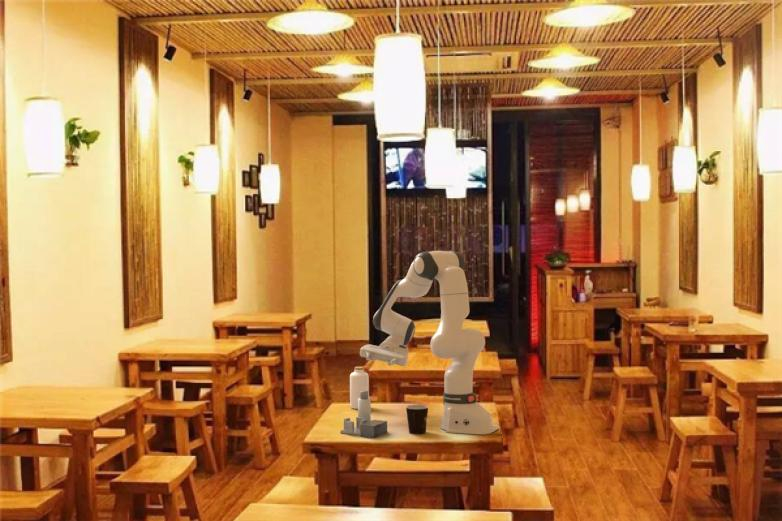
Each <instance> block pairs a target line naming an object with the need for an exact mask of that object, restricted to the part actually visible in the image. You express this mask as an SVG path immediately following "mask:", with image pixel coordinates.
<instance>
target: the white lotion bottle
mask: <svg viewBox="0 0 782 521" xmlns="http://www.w3.org/2000/svg"><path fill="white" fill-rule="evenodd" d="M371 408H372V405H371V398H370V397H369V398H368V391H360V398H358V409H357V410H358V412H357V417H362V418H364V420H366V422H369V421H372V415H371V414H372V413H371V412H372V410H371Z"/></svg>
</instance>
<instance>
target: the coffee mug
mask: <svg viewBox="0 0 782 521" xmlns="http://www.w3.org/2000/svg"><path fill="white" fill-rule="evenodd" d="M405 408H406V410H405V411H406V417H407V418H406V419H407V425H408V433H409V434H410V435H425V434H426V433H427V425H428V412H429V406H428V405H425V404H409V405H406V406H405Z"/></svg>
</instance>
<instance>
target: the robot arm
mask: <svg viewBox="0 0 782 521" xmlns="http://www.w3.org/2000/svg"><path fill="white" fill-rule="evenodd" d="M465 265H466V264H465V259H464V255H462V254H461V253H460V252H459V251H454V250H449V251H445V250H431V251H423V252H419V253H418V254H417V255H416V256H414V259H413V261H412V262H411V264H410V266H409V269H408V271H407V273H406V276H405V277H404V278H403V279H398V280H397V281H396V282H395V283H394V284H393V286H392V287H391V289H390V291H389V292H388V294H387V295H386V296H385V299H384V300H383V302H382V303H381V305H380V307H379V309H378V310H377V311H376V312H375V313H374V315H373V318H372V323H373V324H372V325H373V326H374V328H375V329H376V330H379V331H381V332H384V333H385V334H388V335H389V336H387V338H385V339H384V340H383V342H381V343H380V344H379V345H373V344H365V345H363V346H361V347H360V349H359V356H360V357H362V358H365V361H371V360H376V361H379V362H383V363H387V366H391V367H392V365H397V366H401V367H405V366H406V365H407V364H408V359H409V353H410V351H409V347H407V345H409V343H411V341H412V339H413V337H414V335H415V333H416V326H415V323H414V320H413V319H410V318H409V317H407V316H404V315H401V314H400V313H397V312H396V311H394V310H393V309H392V307H393V305H394V304H395V302H396V300H397V298H411V299H417V298H421V297H423V296H425V295H427V294H428V293H429V290H430V289H431V287H432V284H433V281H434V279H435V280H437V281H438V284H439V294H440V296H439V297H440V311H441V313H440V320H439V324H438V327H437V330H436V332H435V333H434V334H433V335H432V336H431V339H430V344H429V346H430V350H431V353H432V355H433V356H434V357H436V358H439V359H445V360H446V359H447V360H450V359H451V363H450V365H449V366H448V367H447V368H446V369H445V371H444V376H443V377H444V384H443V385H444V387H443V388H444V391H443V395H442V396H443V399H442V400H443V401H442V402H443V413H442V414H443V416H442V419H441V424H440V429H442V430H444V431H445V432H446V433H450V434H451V433H454V434H467V435H468V434H469V435H489V434H492V432H493V433H494V431H495V430H497V429H499V427H498V425H497V424H493V419H492V418H493V417H492V415H491V413H490V411H488V410H487V409H486V408H485V407H484V406H482V405H481V404H480V403H479V402H478V401H477V400H478V397H479V393H478V394H475V392H473V382H474V381H473V379H474V378H473V377H474V376H473V375H474V371H475V370H474V369H475V365H476V362H477V359H478V357H479V355H480V354H481V352H482V351H483V350H484V348H485V346H486V338H485V335H484V333H483V332H482V331H481V330H480V329H477V328H471V327H466V328H463V324H464V322H465V319H466V318H467V317H468V316H469V314H470V311H471V310H470V300H469V288H468V283H467V282H468V281H467V278H466V274H465V268H466V266H465ZM497 431H498V430H497ZM495 432H496V431H495Z"/></svg>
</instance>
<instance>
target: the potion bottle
mask: <svg viewBox="0 0 782 521" xmlns="http://www.w3.org/2000/svg"><path fill="white" fill-rule="evenodd" d="M369 378H370V376H369V374H368V373H367V372H366V371H365V367H364V366H354V371H353V372H351V373H350V375H349V400H350V402H349V404H350V408H351V409H353V408H354V410H358V398H360V391H368V398H370V382H369V381H370V380H369Z"/></svg>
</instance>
